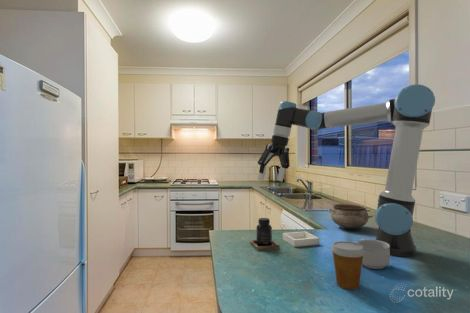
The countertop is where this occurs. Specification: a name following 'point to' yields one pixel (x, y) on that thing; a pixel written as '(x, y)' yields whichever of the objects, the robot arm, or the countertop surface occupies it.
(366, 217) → the cooking pot
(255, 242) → the walnut collar
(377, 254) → the teacup
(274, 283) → the countertop surface
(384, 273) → the countertop surface
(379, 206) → the robot arm
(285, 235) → the cream tray
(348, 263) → the disposable coffee cup
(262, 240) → the supplement bottle
